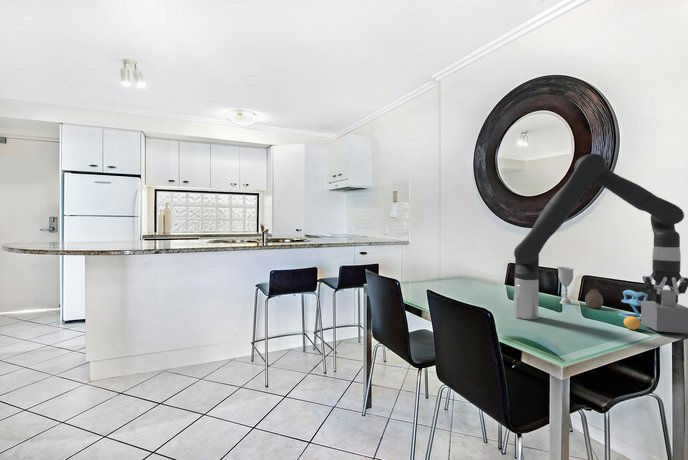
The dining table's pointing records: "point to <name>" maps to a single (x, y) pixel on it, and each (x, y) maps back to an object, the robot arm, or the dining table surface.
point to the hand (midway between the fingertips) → (665, 303)
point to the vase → (594, 299)
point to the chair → (633, 302)
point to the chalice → (565, 281)
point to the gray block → (665, 314)
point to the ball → (632, 322)
